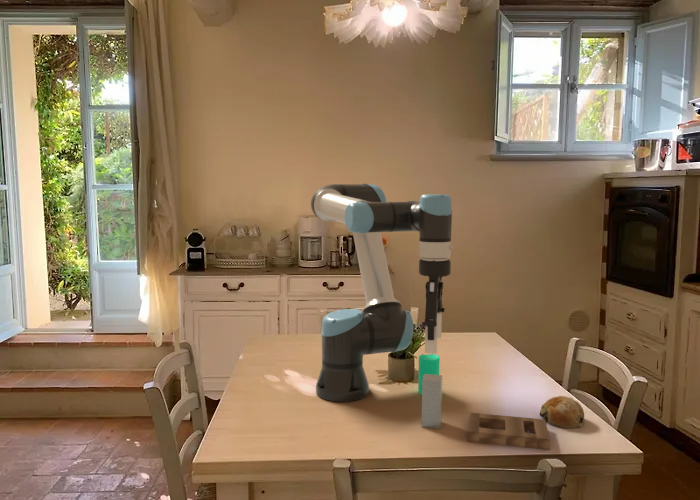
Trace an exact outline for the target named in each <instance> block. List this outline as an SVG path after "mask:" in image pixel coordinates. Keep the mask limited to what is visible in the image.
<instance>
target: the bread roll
mask: <svg viewBox="0 0 700 500" xmlns="http://www.w3.org/2000/svg"><path fill="white" fill-rule="evenodd" d="M540 408H541V409H540V412H539V416H540V417H541V418H542V419H545V421H546V424H549V425H551V424H552V426H554V425H555V426H554V427H558V428H565V429H576V428H582V427H583V425H584V424H583V423H584V421H585V411H584V408H583V407H582V406H581V404H580V403H579V401H577V400H575V399H574V398H572V397H571V396H569V397H568V396H563V395H559V396H554V397H551V398H549V399H548V400H547V401H545V403H543V404H542V405H541V407H540Z"/></svg>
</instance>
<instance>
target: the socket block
mask: <svg viewBox="0 0 700 500" xmlns="http://www.w3.org/2000/svg"><path fill="white" fill-rule="evenodd" d="M528 432H533V433H528ZM467 442H471V443H479V444H480V443H481V444H488V445H489V444H491V445H499V446H502V445H503V446H509V447H520V448H528V449H529V448H530V449H539V450H540V449H541V450H547V451H550V448H551V445H550V444H551V438H550V433H549V429H548V426H547V422H546V421H545V419H543V418H533V417H532V418H531V417H522V416H521V417H520V416H513V415H512V416H511V415H501V414H500V415H499V414H489V413H480V412H469V413H468V427H467Z"/></svg>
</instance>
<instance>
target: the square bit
mask: <svg viewBox="0 0 700 500" xmlns="http://www.w3.org/2000/svg"><path fill="white" fill-rule="evenodd" d="M442 412H443V374H441V375H440V374H439V375H431V374H424V376H423V379H422V394H421V428H426V429H437V430H441V426H442V419H443V417H442V416H443V415H442Z"/></svg>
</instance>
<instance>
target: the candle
mask: <svg viewBox="0 0 700 500" xmlns="http://www.w3.org/2000/svg"><path fill="white" fill-rule="evenodd" d="M424 374H431V375H440V356H439V355H438V354H433V353H428V354H425V353H422V354H420V355H419V356H418V381H417V382H418V384H417V385H418V387H417V389H418V390H417V391H418V392H417V393H418V394H420V395H422V379H423V376H424Z"/></svg>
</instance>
